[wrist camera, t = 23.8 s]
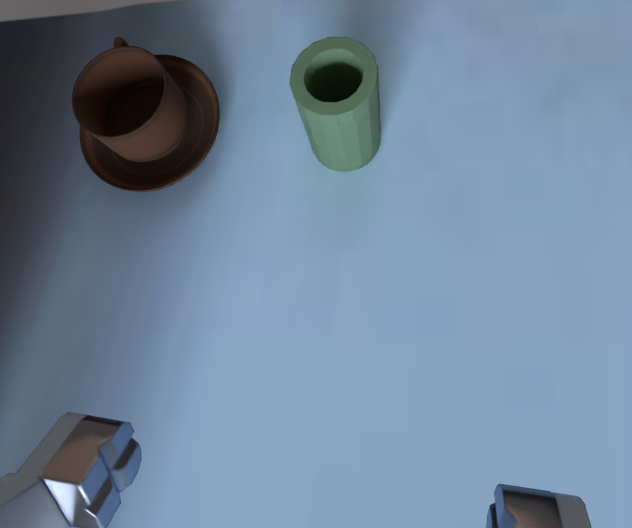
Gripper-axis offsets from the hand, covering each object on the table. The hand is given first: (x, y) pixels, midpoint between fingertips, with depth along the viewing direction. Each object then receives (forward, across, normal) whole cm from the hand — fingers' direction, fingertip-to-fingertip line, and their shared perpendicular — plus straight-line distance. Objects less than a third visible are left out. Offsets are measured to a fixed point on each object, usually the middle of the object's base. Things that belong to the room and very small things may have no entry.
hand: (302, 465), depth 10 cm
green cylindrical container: (+30, +3, +3) cm, 30 cm away
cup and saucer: (+30, +19, +3) cm, 36 cm away
